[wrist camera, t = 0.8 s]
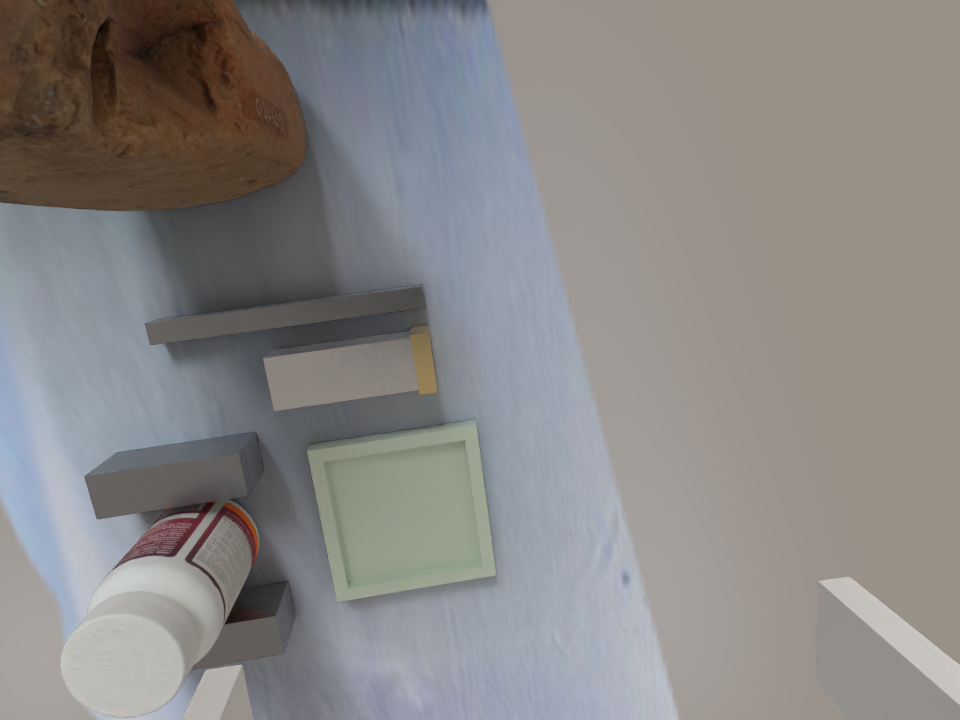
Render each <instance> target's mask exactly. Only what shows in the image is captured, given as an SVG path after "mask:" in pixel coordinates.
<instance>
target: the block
mask: <svg viewBox="0 0 960 720" xmlns="http://www.w3.org/2000/svg"><path fill="white" fill-rule="evenodd" d="M306 148H307V147H306V131H305V124H304V119H303V115H302V111H301V108H300V105H299V102H298V99H297V96H296V93H295V90H294V87H293V84H292V82H291V80H290V77H289V75H288V73H287V71H286V69H285V68H284V66H283V64H282V63H281V61H280V60H279V59H278V58H277V56H276V55H275V54H273V53H272V52H271V50H270V48H269V47H268V45H267V44H266V43H265V42H264V41H263V40H262V39H261V38H260V37H258V36H257V35H256V34H255V33H252V32H250V31H249V29H248V27H247V25H246V23H245V21H244V19H243V18H242V16H241V14H240V12H239V11H238V9H237V7H236V6H235V4H234V2H233V1H232V0H0V202H1V203H12V204H23V205H34V206H47V207H63V208H75V209H91V210H107V211H132V210H165V209H180V208H186V207H193V206H200V205H205V204H211V203H218V202H222V201H227V200H232V199H237V198H239V197H242V196H244V195H246V194H249V193H251V192H254V191H258V190H260V189H263V188H265V187H268V186H271V185H276V184H278V183H280V182H282V181H283V180H284V179H285V178H286V177H288V176H290V175H292V174H293V173H295V172H296V170H297V169H298V168H299V166H300V165H301V164H302V162H303V159H304V157H305V152H306Z"/></svg>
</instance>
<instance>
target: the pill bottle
mask: <svg viewBox="0 0 960 720" xmlns="http://www.w3.org/2000/svg"><path fill="white" fill-rule="evenodd" d="M258 550H259V534H258V530H257V527H256V525H255V523H254V521H253V519H252V518H251V516H250V515H249V514H248V513H247V512H246V510H245V509H244V508H242V507H241V506H240V505H238V504H237V503H235V502H233V501H231V500H229V499H225V500H219V501H213V502H206V503H200V504H193V505H187V506H180V507H174V508H169V509H167V510H166V511H165V512H164V513H163V514H162V516H161V517H160V518H159V519H158V520H156V522H155V523H154V524H153V525H152V526H151V528H150V529H149V530H148V531H147V532H146V533H145V534H144V535H143V536H142V537H141V539H140V540H139V541H138V542H137V543H136V544H135V545H134V546H133V547H132V548H131V550H130V551H129V552H128V553H127V554H126V555H125V556H124V557H123V558H122V559H121V561H120V562H119V563H118V564H117V565H116V566H115V568H113V570H112V571H111V572H110V573H109V574H108V575H107V576H106V577H105V578H104V579H103V581H102V582H101V584H100V585H99V586H98V588H97V589H96V591H95V592H94V594H93V596H92V598H91V600H90V603H89V605H88V609H87V615H86V617H85V619H84V620H83V621H82V623H81V624H80V625H79V626H78V627H77V628H76V629H75V631H74V632H73V633H72V634H71V636H70V637H69V639H68V640H67V642H66V644H65V646H64V648H63V651H62V655H61V661H60V665H61V673H62V678H63V680H64V683H65V685H66V687H67V689H68V690H69V692H70V693H71V694H72V695H73V697H74V698H75V699H76V700H78V701H79V702H80V703H81V704H83V705H84V706H86V707H87V708H89V709H91V710H93V711H95V712H97V713H100V714H103V715H107V716H112V717H124V718H128V717H136V716H142V715H145V714H148V713H151V712H153V711H156V710H157V709H159V708H161V707H163V706H164V705H165V704H167V703H168V702H169V701H170V700H171V699H172V698H173V697H174V696H175V695H176V694H177V692H178V691H179V690H180V688H181V686H182V684H183V682H184V681H185V679H186V677H187V675H188V673H189V672H190V670H191V669H192V667H193V665H195V664H196V663H197V662H198V661H200V660H201V659H202V658H203V657H204V656H205V655H206V654H207V653H208V652H209V650H210V649H211V648H212V646H213V645H214V643H215V641H216V640H217V639H218V637H219V635H220V632H221V630H222V628H223V626H224V624H225V622H226V620H227V618H228V616H229V613H230V611H231V609H232V607H233V605H234V603H235V601H236V599H237V597H238V595H239V593H240V591H241V589H242V587H243V585H244V583H245V581H246V579H247V577H248V575H249V573H250V571H251V569H252V567H253V565H254V562H255V560H256V557H257V555H258Z"/></svg>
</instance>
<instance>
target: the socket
mask: <svg viewBox="0 0 960 720" xmlns="http://www.w3.org/2000/svg"><path fill="white" fill-rule="evenodd" d="M263 472H264V468H263V463H262V458H261V454H260V449H259V445H258V440H257V435H256V432H253V433H246V434H239V435H232V436H226V437H219V438H212V439H205V440H199V441H192V442H185V443H178V444H171V445H165V446H158V447H151V448H144V449H138V450H131V451H124V452H117V453H116V454H114V455H113V456H112V457H110V458H109V459H107V460H106V461H105V462H103V463H102V464H101V465H99V466H98V467H96V468H95V469H94V470H92V471H91V472H90V473H88V474H87V475H86V476H84V477H85V480H86V484H87V487H88V490H89V494H90V497H91V501H92V504H93V508H94V511H95V515H96V518H97V519H103V518H109V517H116V516H122V515H129V514H135V513H142V512H148V511H154V510H161V509H167V508H174V507H180V506H187V505H193V504H200V503H206V502H213V501H219V500H225V499H232V498H238V497H245V496H248V495H249V494H250V492H251V491H252V489H253V488H254V486H255V485H256V483H257V482H258V480H259V478H260V477H261V475H262V474H263ZM295 617H296V614H295V610H294V605H293V601H292V596H291V591H290V587H289V582H282V583H276V584H270V585H264V586H258V587H252V588H246V589H241V591H240V593H239V595H238V597H237V599H236V601H235V603H234V605H233V607H232V609H231V611H230V613H229V616H228V618H227V620H226V622H225V624H224V626H223V628H222V630H221V632H220V635H219V637H218V639H217V640H216V641H215V643H214V645H213V646H212V648H211V649H210V650H209V652H208V653H207V654H206V655H205V656H204V657H203V658H202V659H201V660H200V661H198V662H197V663H196V664H195V665H193V667H192V669H191V670H193V669H198V668H204V667H210V666H216V665H221V664H227V663H233V662H239V661H244V660H250V659H256V658H262V657H267V656H273V655H279V654H284V652H285V648H286V645H287V642H288V639H289V636H290V633H291V630H292V627H293V624H294V621H295Z"/></svg>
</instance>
